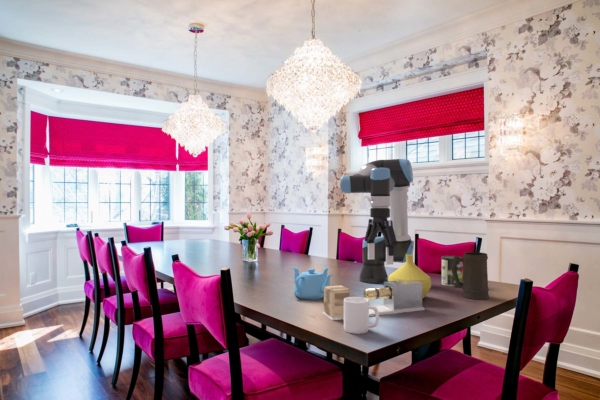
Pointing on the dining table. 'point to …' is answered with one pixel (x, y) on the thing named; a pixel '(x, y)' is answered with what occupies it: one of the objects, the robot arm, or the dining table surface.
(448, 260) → the coffee can
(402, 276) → the vase
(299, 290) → the teapot
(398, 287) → the sleeve
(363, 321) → the cup
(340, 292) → the socket block
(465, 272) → the beer stein
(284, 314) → the dining table surface
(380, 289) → the slip tube
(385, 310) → the base rail
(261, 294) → the dining table surface
